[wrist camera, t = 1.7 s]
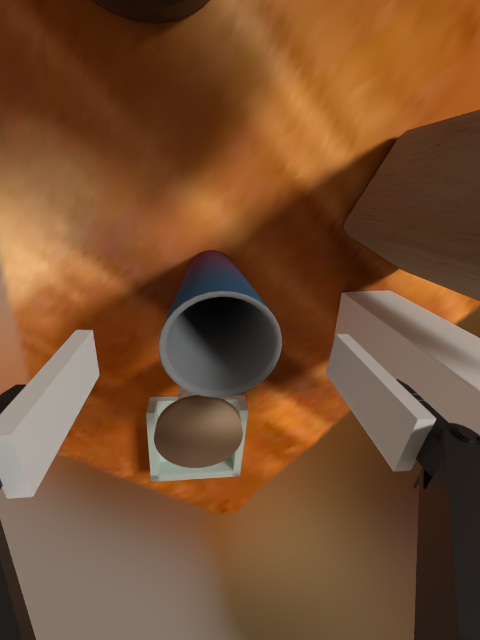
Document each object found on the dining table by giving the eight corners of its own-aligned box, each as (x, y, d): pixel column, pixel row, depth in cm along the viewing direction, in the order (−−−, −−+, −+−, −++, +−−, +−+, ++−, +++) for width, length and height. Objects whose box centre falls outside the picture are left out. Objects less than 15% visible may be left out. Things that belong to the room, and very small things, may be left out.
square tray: (149, 396, 34) (145, 413, 32) (244, 395, 36) (248, 410, 33) (154, 463, 39) (151, 481, 37) (237, 458, 41) (239, 476, 38)
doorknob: (168, 329, 31) (151, 404, 20) (231, 330, 32) (247, 402, 21) (170, 380, 33) (155, 470, 23) (227, 379, 35) (239, 465, 24)
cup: (170, 292, 29) (143, 382, 15) (191, 229, 26) (181, 271, 13) (229, 312, 31) (252, 408, 17) (254, 256, 28) (303, 315, 15)
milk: (341, 291, 31) (579, 461, 12) (390, 289, 32) (694, 446, 12) (333, 338, 34) (517, 542, 14) (378, 335, 35) (614, 526, 15)
